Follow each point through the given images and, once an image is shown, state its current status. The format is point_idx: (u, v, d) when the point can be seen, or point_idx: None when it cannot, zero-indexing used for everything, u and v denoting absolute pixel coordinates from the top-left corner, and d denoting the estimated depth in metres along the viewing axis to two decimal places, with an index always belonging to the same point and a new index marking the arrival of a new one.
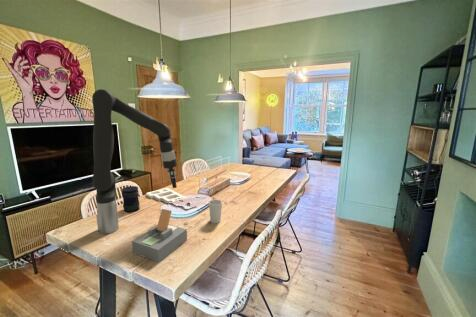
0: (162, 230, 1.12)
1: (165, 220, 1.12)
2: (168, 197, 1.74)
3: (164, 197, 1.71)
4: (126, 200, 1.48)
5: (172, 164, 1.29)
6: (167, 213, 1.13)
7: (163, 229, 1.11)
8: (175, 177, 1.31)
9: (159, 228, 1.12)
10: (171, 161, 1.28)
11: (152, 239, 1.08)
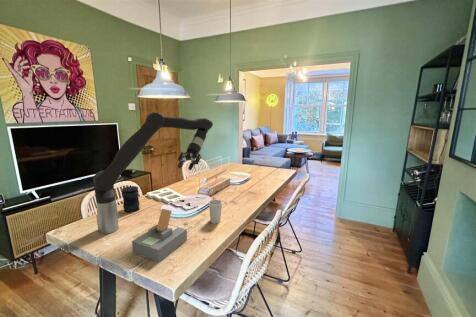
0: (162, 230, 1.12)
1: (165, 220, 1.12)
2: (168, 197, 1.74)
3: (164, 197, 1.71)
4: (126, 200, 1.48)
5: (199, 151, 1.39)
6: (167, 213, 1.13)
7: (163, 229, 1.11)
8: None
9: (159, 228, 1.12)
10: (200, 148, 1.40)
11: (152, 239, 1.08)
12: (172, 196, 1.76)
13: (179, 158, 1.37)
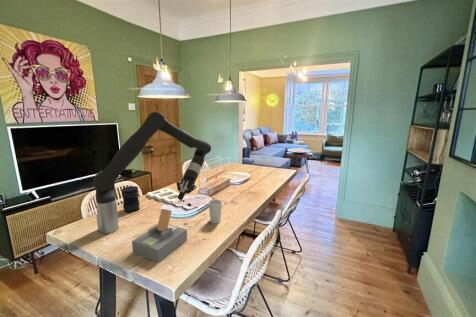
0: (162, 230, 1.12)
1: (165, 220, 1.12)
2: (169, 197, 1.73)
3: (165, 197, 1.70)
4: (126, 200, 1.48)
5: (196, 178, 1.30)
6: (167, 213, 1.13)
7: (163, 229, 1.11)
8: (186, 190, 1.27)
9: (159, 228, 1.12)
10: (197, 175, 1.31)
11: (152, 239, 1.08)
12: (173, 196, 1.75)
13: (178, 188, 1.26)
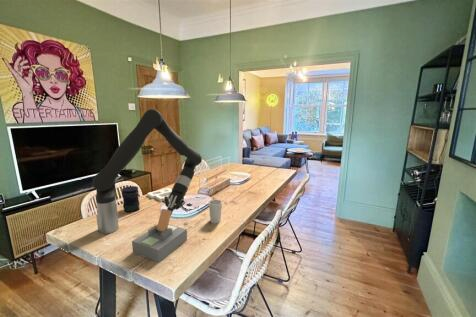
0: (162, 230, 1.12)
1: (165, 220, 1.12)
2: None
3: None
4: (126, 200, 1.48)
5: None
6: (167, 213, 1.13)
7: (163, 229, 1.11)
8: (174, 205, 1.20)
9: (159, 228, 1.12)
10: (187, 189, 1.23)
11: (152, 239, 1.08)
12: None
13: (166, 203, 1.18)
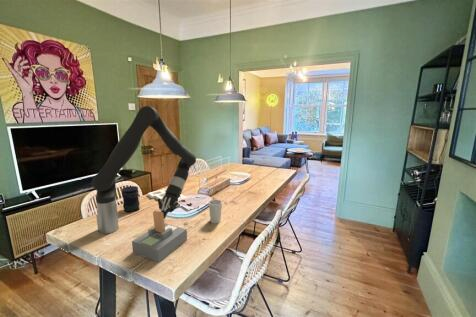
0: (160, 231, 1.11)
1: (160, 223, 1.09)
2: None
3: None
4: (126, 200, 1.48)
5: (180, 194, 1.18)
6: (159, 216, 1.08)
7: (161, 231, 1.10)
8: None
9: (157, 230, 1.11)
10: (181, 190, 1.19)
11: (152, 239, 1.08)
12: None
13: (160, 206, 1.14)
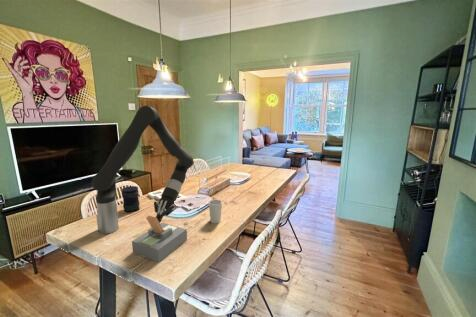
0: (159, 233, 1.10)
1: (156, 227, 1.07)
2: None
3: None
4: (126, 200, 1.48)
5: (176, 197, 1.15)
6: (154, 222, 1.05)
7: (160, 232, 1.10)
8: (164, 211, 1.13)
9: (156, 231, 1.11)
10: (178, 193, 1.16)
11: (152, 239, 1.08)
12: None
13: (156, 209, 1.12)
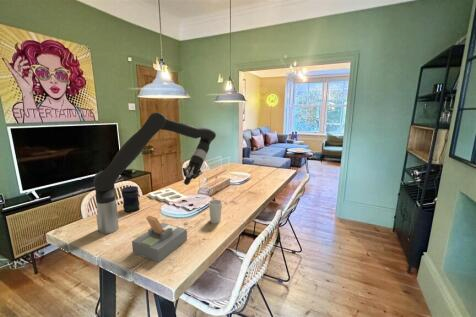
0: (159, 233, 1.10)
1: (156, 227, 1.07)
2: (170, 197, 1.73)
3: (166, 197, 1.70)
4: (126, 200, 1.48)
5: None
6: (154, 222, 1.05)
7: (160, 232, 1.10)
8: None
9: (156, 231, 1.11)
10: (203, 161, 1.34)
11: (152, 239, 1.08)
12: (174, 196, 1.75)
13: (185, 173, 1.30)
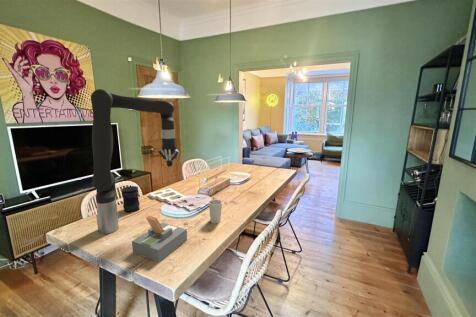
0: (159, 233, 1.10)
1: (156, 227, 1.07)
2: (171, 198, 1.73)
3: (167, 198, 1.70)
4: (126, 200, 1.48)
5: None
6: (154, 222, 1.05)
7: (160, 232, 1.10)
8: None
9: (156, 231, 1.11)
10: None
11: (152, 239, 1.08)
12: (175, 197, 1.75)
13: (164, 157, 1.34)
